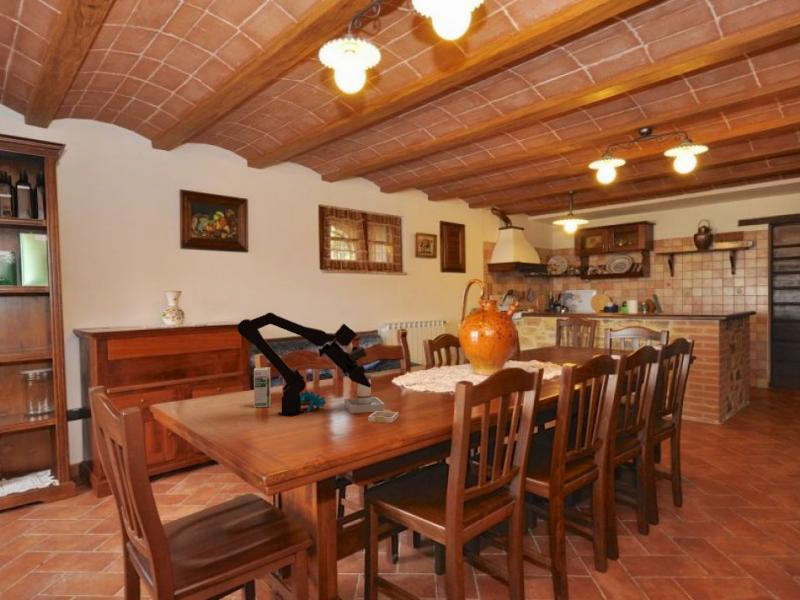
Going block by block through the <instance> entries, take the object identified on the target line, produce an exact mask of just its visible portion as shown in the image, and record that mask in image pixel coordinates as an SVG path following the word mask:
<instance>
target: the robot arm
mask: <svg viewBox="0 0 800 600" xmlns="http://www.w3.org/2000/svg"><path fill="white" fill-rule="evenodd" d="M268 325H272V326H275V327H278V328H280V329H282V330H285V331H287V332H290V333H293V334H295V335H297V336H300V337H302V338H303V339H304V340H307V341H308V342H310V343H311V344H312V345H314V346H316V347H321V348H318V349H317V350H318V357H320V358H322V356H323V355H325V356H326V357H327V358H328V359H329V360H330V361H331V362H332V363H333V364H334V365H335V366H336V367H337V368H338V369H340V372H341V373H342V374H343V375H345V376H346V377H347V378H348V379H350V381H352V382H353V383H356V384H357V383H359V384H361V385H364V386H366V387H369V388H370V387H371V388H372V383H371V384H370V382H369V381H368V379H367V378H366V376H365V375H364V373H365V371H366V369H365V366H363V365H362V364H360V363H358V360H360V359H362V358H365V357H367V356H368V354H367V352H366V349H365V348H364V347H363V346H359V347H357V345H354V346H353V347H351V351H349V352H347V351H345V350H344V349H343V348H342V347H345V346H346V347H348V346H349V345H350V344H351V343H352V342H353V341H354V340H355V339H356V338H357V337H358V334H357V333H356V332H355V331H354V330H353V329H351V328H350V327H349V326H347V325H346V324H345V323H343V324H341V325H340V327H339V328H338V329H337V330H336V332H335V333H331V332H329V333H327V332H326V331H324V330H322V329H319V328H314V327H308V326H304V325H302V324H300V323H296V322H295V321H292V320H289V319H287V318H285V317H282V316H279V315H277V314H275V313H273V312H270V311H269V312H267V313H265V314H263V315H261V316H258V317H255V318H253V319H249V318H245V319H243V320H241V321H240V322H239V323H238V325H237V332H238V333H239V335H240V336H242V337H243V338H244V339H246V340H247V341H249V343H251V344H253V345H254V346H255V347H256V348H257V349H258V351H260V353H261V354H262V355H263V356H264V357H265V359H267V361H268V362H269V363H270V364H271V365H272V366H273V367H274V368H275V370H276V371H278V372H279V374H280V375H281V377H282V378H283V380H284V382H285V383H286V384H285V385H284V386H283V387H282V388H281V391H282V395H283V396H281V411H279V412H277V413H278V415H284V416H289V417H293V416H296V415H300V414H302V413H304V412H305V411H304V410H301V409H302V406H301V399H300V395H301V392H304V390H305V388H306V381H305V376H304V374H303V373H301V372H300V371H299V370H298V368H297V367H296V366H295V367H294V368H292V367H290V366H289V365H288V364H287V363H286V362H285V361H284V359H283V358H281V356H280V355H279V354H278V353H277V352H276V350H274V349H273V347H272V346H271V345H270V343H268V342H267V340H266V339H265V338H264V337H263V335H262V333H261V332H260V329H262V328H264V327H266V326H268ZM328 342H329V343H328Z"/></svg>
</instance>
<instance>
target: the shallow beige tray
mask: <svg viewBox="0 0 800 600" xmlns="http://www.w3.org/2000/svg"><path fill="white" fill-rule="evenodd" d="M398 418H399V412H398V411H393V410H392V409H385V410H383V411H375V412H372V413H371V414H370V415H369V416H368V417H367V420H368V422H372V423H373V422H374V423H380V424H383V423H384V424H385V423H388V424H389V423H391V424H393V422H395V421H396V420H397V419H398Z"/></svg>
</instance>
